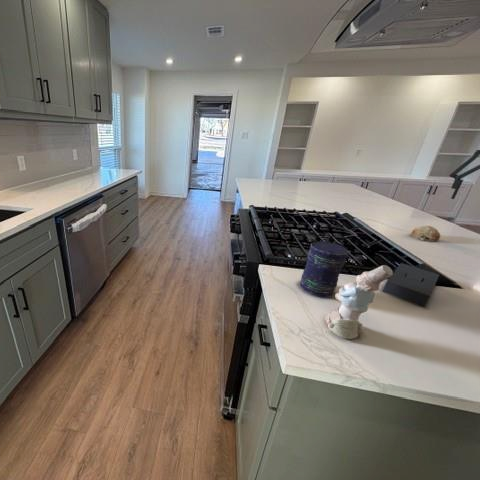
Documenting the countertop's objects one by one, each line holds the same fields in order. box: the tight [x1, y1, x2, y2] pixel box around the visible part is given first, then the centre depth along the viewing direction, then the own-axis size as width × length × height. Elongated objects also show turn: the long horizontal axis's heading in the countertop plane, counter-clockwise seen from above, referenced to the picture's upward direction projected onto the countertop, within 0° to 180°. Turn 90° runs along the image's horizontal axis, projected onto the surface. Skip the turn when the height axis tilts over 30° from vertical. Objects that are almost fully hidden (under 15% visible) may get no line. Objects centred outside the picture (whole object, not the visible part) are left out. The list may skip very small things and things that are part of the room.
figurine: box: [325, 264, 394, 340], centre depth 62 cm, size 9×8×20 cm
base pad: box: [382, 269, 437, 308], centre depth 81 cm, size 10×12×4 cm
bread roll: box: [410, 225, 441, 243], centre depth 126 cm, size 10×10×8 cm
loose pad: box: [395, 262, 440, 283], centre depth 86 cm, size 10×11×4 cm
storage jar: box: [299, 240, 349, 299], centre depth 80 cm, size 10×10×15 cm
